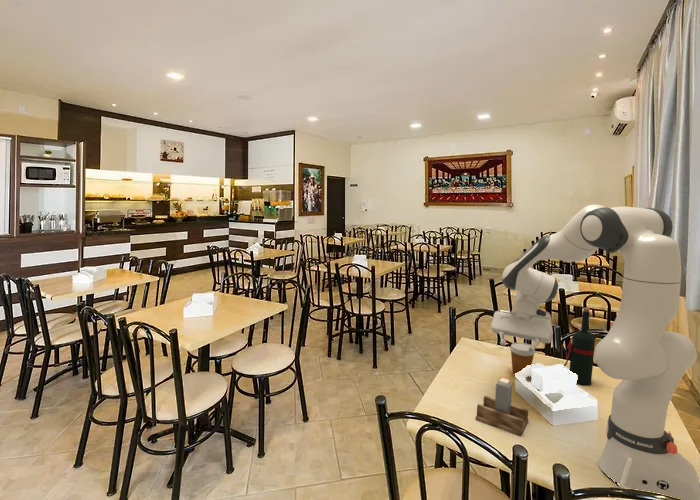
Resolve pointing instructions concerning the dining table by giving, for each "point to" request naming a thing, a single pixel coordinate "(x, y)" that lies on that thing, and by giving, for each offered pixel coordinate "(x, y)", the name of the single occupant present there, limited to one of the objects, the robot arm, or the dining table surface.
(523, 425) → the wooden card holder
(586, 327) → the wine bottle
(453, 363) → the dining table surface
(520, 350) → the disposable coffee cup
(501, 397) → the post
